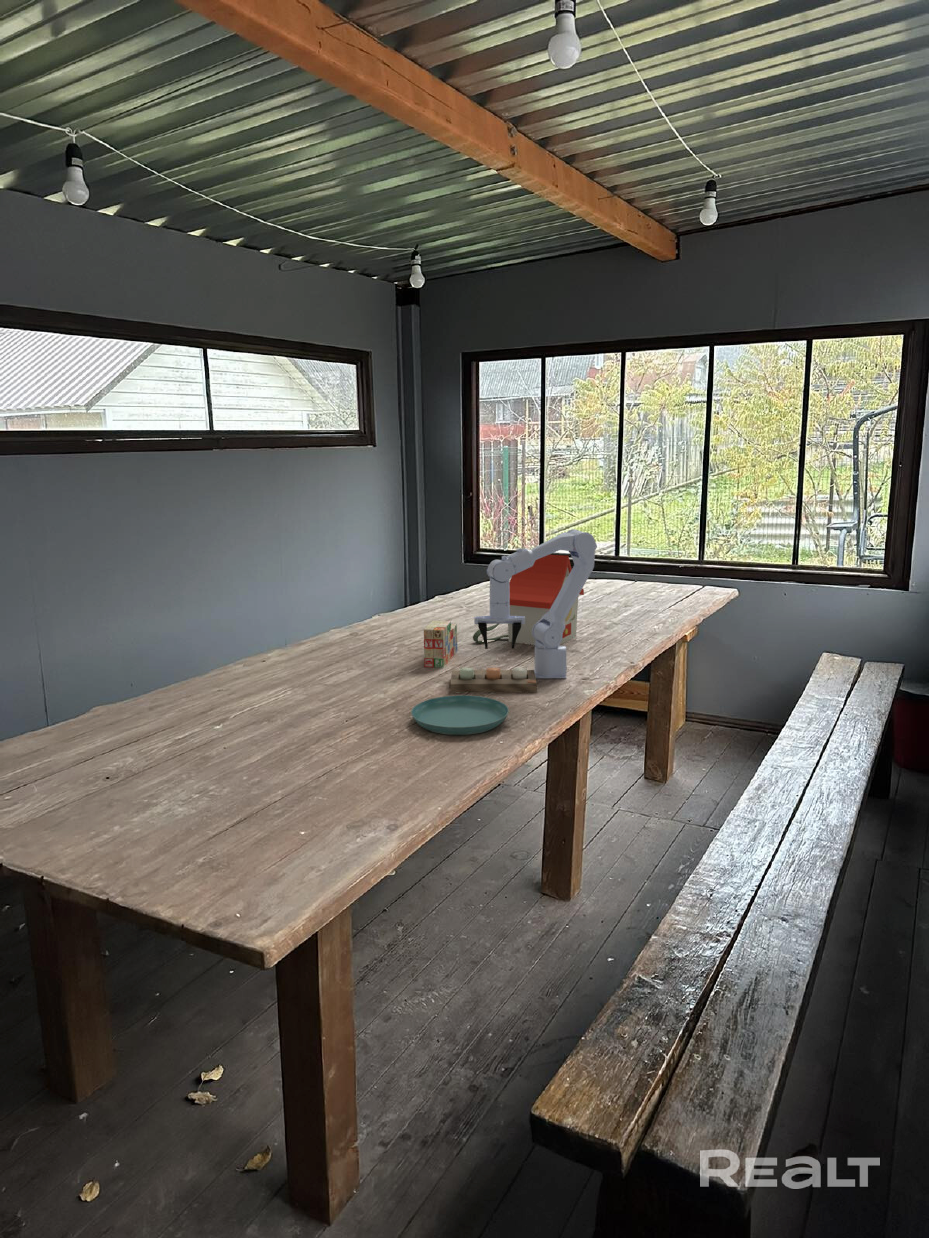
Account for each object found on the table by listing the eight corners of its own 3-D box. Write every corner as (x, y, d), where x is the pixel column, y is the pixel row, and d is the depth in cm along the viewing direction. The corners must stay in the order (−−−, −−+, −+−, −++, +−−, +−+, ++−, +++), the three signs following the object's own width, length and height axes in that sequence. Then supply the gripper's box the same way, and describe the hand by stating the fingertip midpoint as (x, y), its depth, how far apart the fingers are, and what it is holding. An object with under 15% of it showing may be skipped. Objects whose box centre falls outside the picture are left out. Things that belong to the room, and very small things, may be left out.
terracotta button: (500, 677, 242) (500, 667, 241) (500, 681, 238) (500, 671, 237) (486, 677, 242) (486, 667, 241) (486, 681, 238) (486, 671, 237)
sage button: (474, 677, 242) (473, 667, 241) (474, 681, 238) (474, 671, 237) (460, 677, 242) (460, 667, 241) (459, 681, 238) (459, 671, 237)
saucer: (399, 714, 217) (398, 702, 216) (485, 702, 225) (485, 690, 225) (430, 745, 195) (430, 731, 194) (524, 730, 203) (525, 717, 203)
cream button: (526, 677, 242) (526, 667, 241) (527, 681, 238) (527, 671, 237) (512, 677, 242) (512, 667, 241) (513, 681, 238) (513, 671, 237)
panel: (533, 678, 247) (533, 669, 246) (537, 692, 233) (537, 682, 233) (452, 678, 247) (451, 669, 247) (450, 692, 234) (450, 683, 233)
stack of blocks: (439, 650, 281) (438, 614, 278) (457, 651, 280) (457, 615, 277) (424, 667, 260) (423, 628, 258) (443, 668, 259) (443, 629, 257)
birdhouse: (549, 654, 275) (550, 563, 268) (470, 644, 289) (470, 557, 283) (591, 632, 305) (592, 550, 298) (517, 624, 319) (517, 545, 313)
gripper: (474, 604, 237) (474, 651, 240) (525, 604, 237) (525, 651, 240) (474, 600, 244) (474, 645, 247) (524, 599, 244) (524, 645, 247)
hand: (499, 648), depth 244 cm, fingers open, 7 cm apart
